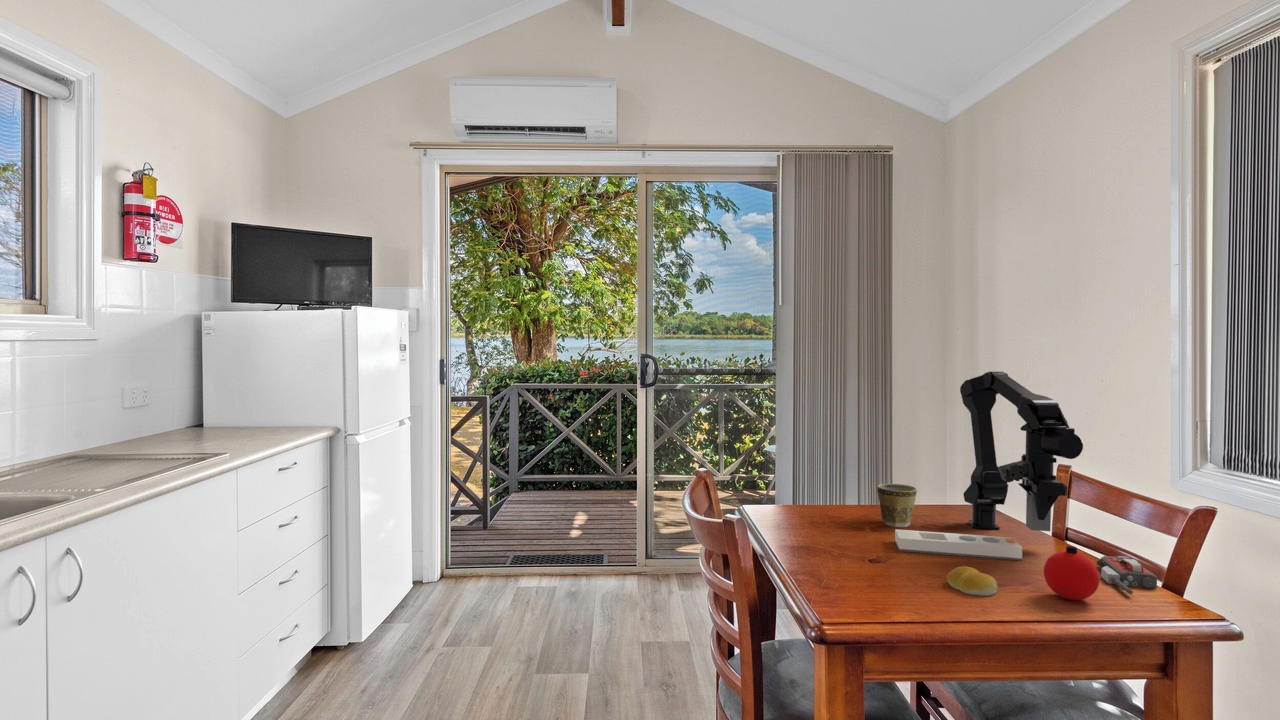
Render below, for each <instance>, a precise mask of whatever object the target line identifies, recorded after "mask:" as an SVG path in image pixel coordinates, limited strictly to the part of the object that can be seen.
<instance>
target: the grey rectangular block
mask: <svg viewBox="0 0 1280 720" xmlns="http://www.w3.org/2000/svg"><path fill="white" fill-rule="evenodd" d="M1025 506H1026V507H1025V508H1026V510H1025V513H1026V514H1025V526H1026V527H1027V528H1028V529H1029V530H1030V531H1041V532H1051V521H1052V520H1051V519H1052V514H1051V513H1052V508H1051V509H1050V511H1049V512H1048V514H1047V516H1046V518H1045V519H1044V520H1039V519H1038V514H1037V507H1036V501H1035V497H1034V496H1033V495H1032V494H1031V493H1026V505H1025Z"/></svg>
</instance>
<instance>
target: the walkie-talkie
mask: <svg viewBox="0 0 1280 720" xmlns="http://www.w3.org/2000/svg"><path fill="white" fill-rule="evenodd" d="M1103 561H1104V562H1103ZM1096 565H1098V566H1099V568H1100V573H1101V574H1100V576H1101V578H1102V579H1103V580H1104V581H1106V583H1107V584H1110V585H1116V586H1117V587H1118V588H1120V589H1121V590H1123V591H1125V592H1126V593H1128V594H1129V595H1133V593H1134V592H1133V590H1132V589H1131V588H1129V587H1134V586H1138V588H1146V589H1157V588H1158V586H1157V585H1158V576H1157V575H1155V574H1154V573H1153V572H1151V571H1150V570H1148V569H1146V568H1145V567H1144V565H1142V564H1141V562H1138V561H1137V560H1136V559H1134V558H1133V559H1131V558H1129V556H1120V555H1116V556H1114V555H1113V556H1111V555H1104V556H1102V557H1100V559H1099V560H1096ZM1150 583H1151V584H1150Z"/></svg>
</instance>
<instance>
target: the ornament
mask: <svg viewBox="0 0 1280 720" xmlns="http://www.w3.org/2000/svg"><path fill="white" fill-rule="evenodd" d="M1065 547H1066V548H1065V550H1062V551H1058V552H1056V553H1053V554H1051V556H1049V557H1048V558H1047V560H1046V562H1045V564H1044V566H1043V576H1044V580H1045V582H1046V584H1047V586H1048V587H1049V589H1051V591H1052V592H1054V593H1055V594H1056V595H1058V596H1059V597H1061V598H1064V599H1066V600H1071V601H1081V600H1086V599H1088V598H1090V597H1091V596H1093V595H1094V594H1095V593H1096V592H1097V590H1098V588H1099V586H1100V585H1099V584H1100V580H1101V579H1100V573H1099V571H1098V568H1097V567H1096V565H1095V564H1094V562H1093V561H1092V560H1091V559H1089V557H1087V556H1086V555H1084V554H1082V553H1080V552H1078V548H1077V547H1076V546H1072V545H1067V546H1065Z"/></svg>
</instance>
